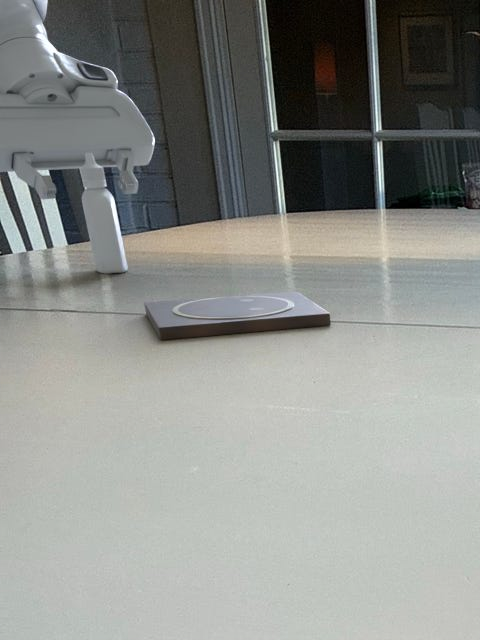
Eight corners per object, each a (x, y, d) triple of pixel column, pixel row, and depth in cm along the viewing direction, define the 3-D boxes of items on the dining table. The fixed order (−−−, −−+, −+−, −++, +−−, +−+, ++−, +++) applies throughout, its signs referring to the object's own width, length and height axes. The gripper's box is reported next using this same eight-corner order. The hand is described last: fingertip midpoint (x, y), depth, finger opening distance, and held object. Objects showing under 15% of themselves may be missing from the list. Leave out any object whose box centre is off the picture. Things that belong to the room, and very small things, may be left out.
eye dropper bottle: (140, 267, 106) (118, 151, 100) (120, 274, 102) (96, 154, 95) (104, 266, 107) (80, 152, 101) (83, 274, 102) (56, 154, 96)
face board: (160, 340, 72) (158, 325, 71) (146, 314, 81) (143, 300, 81) (331, 325, 77) (329, 311, 76) (298, 302, 86) (296, 289, 86)
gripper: (-63, 66, 93) (-4, 175, 92) (125, 70, 105) (180, 166, 104) (-62, 116, 99) (-6, 220, 97) (117, 114, 111) (169, 206, 109)
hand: (91, 192), depth 101 cm, fingers open, 8 cm apart
